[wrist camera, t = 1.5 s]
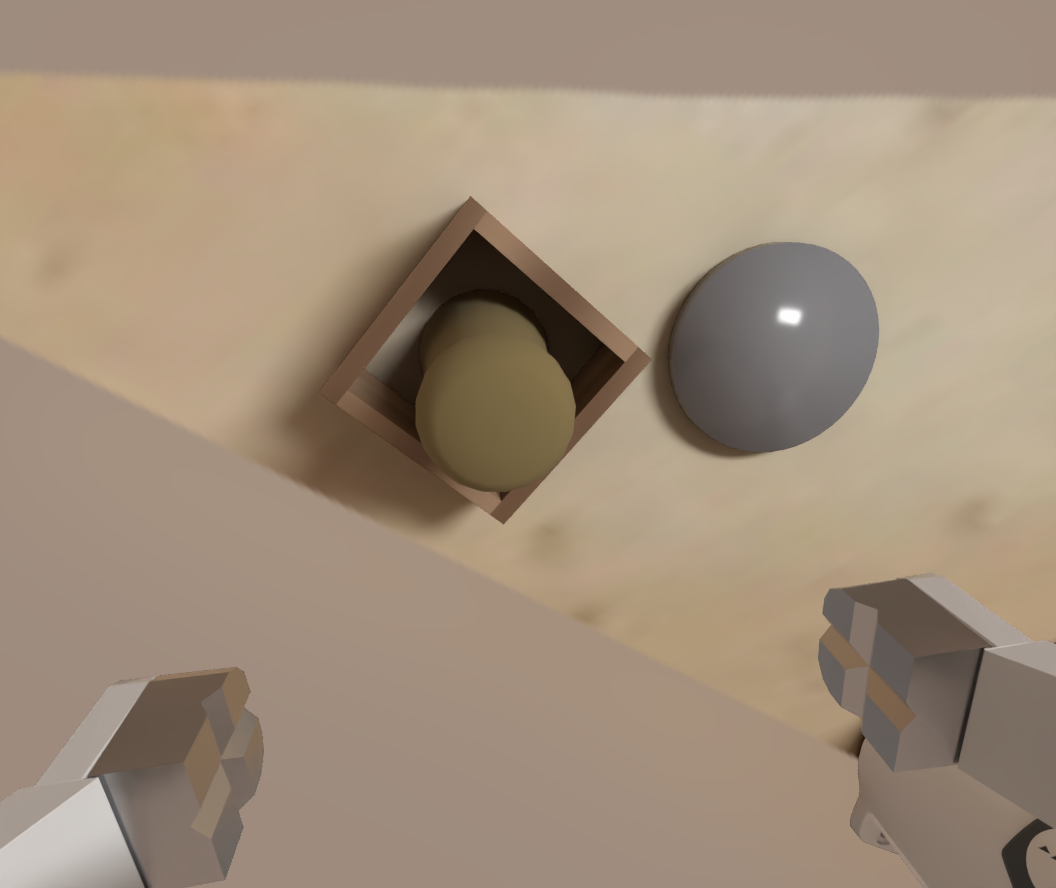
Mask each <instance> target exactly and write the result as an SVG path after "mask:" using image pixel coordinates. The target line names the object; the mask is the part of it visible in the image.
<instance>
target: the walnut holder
mask: <svg viewBox="0 0 1056 888" xmlns="http://www.w3.org/2000/svg"><path fill="white" fill-rule="evenodd" d="M473 229H474V230H475V231H476V232H477V233H478V234H480V235H481V236H482V237H483V238H484V239H485V240H486V241H488V242H489V243H490V244H491V245H492V246H493V247H494V248H495V249H497V250H498V251H499V252H500V253H501V254H502V255H503V256H505V257H506V258H507V259H508V260H509V261H510V262H511V263H513V264H514V265H515V266H516V267H517V268H518V269H519V270H520V271H522V272H523V273H524V274H525V275H526V276H527V277H528V278H530V279H531V280H532V281H533V282H534V283H535V284H536V285H537V286H539V287H540V288H541V289H542V290H543V291H544V292H545V293H547V294H548V295H549V296H550V297H551V298H552V299H553V300H555V301H556V302H557V303H558V304H559V305H560V306H561V307H562V308H564V309H565V310H566V311H567V312H568V313H569V314H570V315H572V316H573V317H574V318H575V319H576V320H577V321H578V322H579V323H581V324H582V325H583V326H584V327H585V328H586V329H587V330H589V331H590V332H591V333H592V334H593V335H594V336H595V337H597V338H598V339H599V340H600V341H601V342H602V343H603V345H602V347H601V348H600V349H599V350H598V351H597V352H596V353H595V355H594V356H593V357H592V358H591V359H590V360H589V362H588V363H587V364H586V365H585V366H584V367H583V368H582V370H581V371H580V372H579V373H578V374H577V375H576V376H575V378H574V379H573V380H572V381H571V382H570V383H571V388H572V392H573V396H574V401H575V405H576V410H575V420H574V430H573V435H572V437H571V440H570V442H569V444H568V446H567V449H566V451H565V453H564V456H563V457H562V458H561V459H560V460H559V461H558V463H559V462H560V461H561V460H562V459H563V458H564V457H565V456H566V455H567V453H568V452H569V451H570V450H571V449H572V448H573V447H574V446H575V445H576V443H577V442H578V441H579V440H580V439H581V438H582V437H583V436H584V434H585V433H586V432H587V431H588V430H589V429H590V428H591V427H592V426H593V424H594V423H595V422H596V421H597V420H598V419H599V418H600V417H601V416H602V414H603V413H604V412H605V411H606V410H607V409H608V408H609V407H610V406H611V404H612V403H613V402H614V401H615V400H616V399H617V398H618V397H619V396H620V394H621V393H622V392H623V391H624V390H625V389H626V388H627V387H628V386H629V384H630V383H631V382H632V381H633V380H634V379H635V378H636V377H637V376H638V374H639V373H640V372H641V371H642V370H643V369H644V368H645V367H646V366H647V364H648V363H649V362H650V361H651V360H652V359H651V358H650V357H649V356H648V355H646V354H645V353H644V352H643V351H642V350H641V349H640V348H639V347H638V346H636V345H635V344H634V343H633V342H632V341H631V340H630V339H629V338H628V337H626V336H625V335H624V334H623V333H622V332H621V331H620V330H619V329H618V328H616V327H615V326H614V325H613V324H612V323H611V322H610V321H609V320H608V319H606V318H605V317H604V316H603V315H602V314H601V313H600V312H599V311H598V310H596V309H595V308H594V307H593V306H592V305H591V304H590V303H589V302H588V301H586V300H585V299H584V298H583V297H582V296H581V295H580V294H579V293H578V292H576V291H575V290H574V289H573V288H572V287H571V286H570V285H569V284H568V283H566V282H565V281H564V280H563V279H562V278H561V277H560V276H559V275H558V274H556V273H555V272H554V271H553V270H552V269H551V268H550V267H549V266H548V265H546V264H545V263H544V262H543V261H542V260H541V259H540V258H539V257H538V256H536V255H535V254H534V253H533V252H532V251H531V250H530V249H529V248H528V247H526V246H525V245H524V244H523V243H522V242H521V241H520V240H519V239H518V238H516V237H515V236H514V235H513V234H512V233H511V232H510V231H509V230H508V229H506V228H505V227H504V226H503V225H502V224H501V223H500V222H499V221H498V220H496V219H495V218H494V217H493V216H492V215H491V214H490V213H489V212H488V211H486V210H485V209H484V208H483V207H482V206H481V205H480V204H479V203H478V202H476V201H475V200H474V199H473V198H472V197H471V196H470V198H469V199H468V200H467V201H466V203H465V204H464V205H463V207H462V208H461V209H460V210H459V212H458V213H457V214H456V216H455V217H454V218H453V220H452V221H451V222H450V223H449V225H448V226H447V227H446V229H445V230H444V231H443V233H442V234H441V235H440V236H439V238H438V239H437V240H436V242H435V243H434V244H433V245H432V247H431V248H430V249H429V251H428V252H427V253H426V255H425V256H424V257H423V258H422V260H421V261H420V262H419V264H418V265H417V266H416V267H415V269H414V270H413V271H412V273H411V274H410V275H409V277H408V278H407V279H406V280H405V282H404V283H403V284H402V286H401V287H400V288H399V290H398V291H397V292H396V293H395V295H394V296H393V297H392V299H391V300H390V301H389V302H388V304H387V305H386V306H385V308H384V309H383V310H382V312H381V313H380V314H379V315H378V317H377V318H376V319H375V321H374V322H373V323H372V324H371V326H370V327H369V328H368V330H367V331H366V332H365V334H364V335H363V336H362V337H361V339H360V340H359V341H358V343H357V344H356V345H355V347H354V348H353V349H352V350H351V352H350V353H349V354H348V356H347V357H346V358H345V359H344V361H343V362H342V363H341V365H340V366H339V367H338V369H337V370H336V371H335V372H334V374H333V375H332V376H331V378H330V379H329V380H328V382H327V383H326V384H325V385H324V387H323V388H322V389H321V391H320V392H319V393H320V394H321V395H323V396H324V397H325V398H327V399H328V400H330V401H331V402H332V403H334V404H335V405H337V406H338V407H339V408H341V409H342V410H344V411H345V412H346V413H348V414H349V415H351V416H352V417H354V418H355V419H356V420H358V421H359V422H361V423H362V424H363V425H365V426H366V427H368V428H369V429H370V430H372V431H373V432H375V433H376V434H377V435H379V436H380V437H382V438H383V439H384V440H386V441H387V442H389V443H390V444H391V445H393V446H394V447H396V448H397V449H398V450H400V451H401V452H403V453H404V454H405V455H407V456H408V457H410V458H411V459H412V460H414V461H415V462H417V463H418V464H420V465H421V466H422V467H424V468H425V469H427V470H428V471H429V472H431V473H432V474H434V475H435V476H436V477H438V478H439V479H441V480H442V481H443V482H445V483H446V484H448V485H449V486H450V487H452V488H453V489H455V490H456V491H457V492H459V493H460V494H462V495H463V496H464V497H466V498H467V499H469V500H470V501H471V502H473V503H474V504H476V505H477V506H479V507H480V508H481V509H483V510H484V511H486V512H487V513H488V514H490V515H491V516H493V517H494V518H495V519H497V520H498V521H500V522H501V523H502V524H504V523H505V522H506V521H507V520H508V519H509V518H510V517H511V516H512V515H513V513H514V512H515V511H516V510H517V509H518V508H519V507H520V506H521V505H522V503H523V502H524V501H525V500H526V499H527V498H528V497H529V496H530V495H531V493H532V492H533V491H534V490H535V489H536V488H537V487H538V486H539V485H540V483H541V482H542V481H543V480H544V479H545V478H546V477H547V476H548V475H549V473H550V472H551V471H552V470H553V469H554V468H555V467H556V466H557V465H558V463H557V464H556V465H555V466H554V467H553V468H552V469H551V471H550V472H549V473H548V474H546V475H545V476H543V477H542V478H540V479H538V480H537V481H535V482H533V483H532V484H530V485H529V486H526V487H522V488H518V489H515V490H511V491H507V492H481V491H478V490H475V489H472V488H469V487H466V486H463V485H460V484H458V483H457V482H455V481H454V480H452V479H451V478H449V477H448V476H447V475H445V474H444V473H442V472H441V471H440V470H439V469H438V467H437V466H436V465H435V463H434V462H433V461H432V460H431V458H430V457H429V456H428V454H427V453H426V451H425V450H424V448H423V446H422V443H421V440H420V437H419V434H418V431H417V428H416V407H415V406H413V405H412V404H410V403H409V402H408V401H406V400H405V399H404V398H402V397H401V396H400V395H398V394H397V393H396V392H394V391H393V390H392V389H390V388H389V387H388V386H386V385H385V384H384V383H382V382H381V381H380V380H378V379H377V378H376V377H374V376H373V375H372V374H370V373H369V372H368V371H366V370H365V369H364V368H365V367H366V366H367V364H368V363H369V362H370V361H371V359H372V358H373V357H374V356H375V354H376V353H377V352H378V350H379V349H380V348H381V347H382V345H383V344H384V343H385V341H386V340H387V339H388V338H389V336H390V335H391V334H392V333H393V331H394V330H395V329H396V327H397V326H398V325H399V324H400V322H401V321H402V320H403V318H404V317H405V316H406V315H407V313H408V312H409V311H410V310H411V308H412V307H413V306H414V304H415V303H416V302H417V301H418V299H419V298H420V297H421V295H422V294H423V293H424V292H425V290H426V289H427V288H428V287H429V285H430V284H431V283H432V281H433V280H434V279H435V278H436V276H437V275H438V274H439V272H440V271H441V270H442V269H443V267H444V266H445V265H446V264H447V262H448V261H449V260H450V258H451V257H452V256H453V255H454V253H455V252H456V251H457V250H458V248H459V247H460V246H461V244H462V243H463V242H464V241H465V239H466V238H467V237H468V235H469V234H470V233H471V232H472V230H473Z"/></svg>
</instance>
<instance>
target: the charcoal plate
mask: <svg viewBox="0 0 1056 888" xmlns="http://www.w3.org/2000/svg"><path fill="white" fill-rule="evenodd" d="M878 338H879V323H878V314H877V309H876V304H875V301H874V299H873V296H872V293H871V291H870V289H869V287H868V285H867V283H866V281H865V280H864V278H863V277H862V276H861V274H860V273H859V272H858V271H857V269H856V268H854V267H853V266H852V265H851V264H850V263H849V262H848V261H847V260H845V259H844V258H842V257H841V256H840V255H838V254H836V253H834V252H832V251H830V250H828V249H826V248H823V247H819V246H816V245H812V244H804V243H794V242H773V243H767V244H761V245H757V246H754V247H751V248H747V249H745V250H743V251H740V252H738V253H736V254H734V255H732V256H730V257H729V258H727V259H726V260H724V261H722V262H721V263H720V264H718V265H717V266H716V267H714V268H713V269H712V270H711V271H709V272H708V273H707V274H706V275H705V276H704V277H703V278H702V279H701V280H700V281H699V283H698V284H697V285H696V286H695V288H694V289H693V290H692V291H691V293H690V294H689V296H688V297H687V299H686V301H685V302H684V304H683V306H682V308H681V310H680V312H679V314H678V316H677V318H676V321H675V324H674V327H673V330H672V334H671V339H670V344H669V356H668V363H669V375H670V380H671V385H672V388H673V391H674V393H675V396H676V398H677V400H678V402H679V404H680V406H681V408H682V409H683V411H684V412H685V413H686V415H687V416H688V417H689V418H690V419H691V420H692V422H693V423H694V424H695V425H696V426H698V427H699V428H700V429H701V430H702V431H703V432H705V433H706V434H707V435H709V436H710V437H711V438H713V439H714V440H716V441H718V442H720V443H721V444H723V445H726V446H729V447H731V448H734V449H738V450H742V451H748V452H773V451H779V450H784V449H788V448H791V447H794V446H797V445H799V444H802V443H804V442H806V441H809V440H810V439H812V438H814V437H816V436H817V435H819V434H821V433H822V432H824V431H825V430H826V429H828V428H829V427H831V426H832V425H833V424H834V423H835V422H836V421H837V420H838V419H840V418H841V417H842V416H843V415H844V413H845V412H846V411H847V410H848V409H849V408H850V407H851V406H852V404H853V403H854V401H855V400H856V399H857V397H858V396H859V394H860V393H861V391H862V389H863V387H864V386H865V384H866V382H867V380H868V377H869V375H870V373H871V370H872V367H873V364H874V361H875V358H876V352H877V347H878Z"/></svg>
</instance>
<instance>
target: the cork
mask: <svg viewBox="0 0 1056 888" xmlns="http://www.w3.org/2000/svg"><path fill="white" fill-rule="evenodd" d="M420 365H421V368H422V371H423V374H424V378H423V381H422V384H421V387H420V389H419V392H418V395H417V398H416V428H417V431H418V434H419V437H420V440H421V443H422V446H423V448H424V450H425V451H426V453H427V454H428V456H429V457H430V458H431V460H432V461H433V462H434V463H435V465H436V466H437V467H438V469H439V470H440V471H441V472H442V473H444V474H445V475H447V476H448V477H449V478H451V479H452V480H454V481H455V482H457V483H458V484H460V485H463V486H466V487H469V488H472V489H475V490H478V491H481V492H507V491H511V490H515V489H518V488H522V487H526V486H529V485H530V484H532V483H533V482H535V481H537V480H538V479H540V478H542V477H543V476H545V475H546V474H548V473H549V472H550V471H551V469H552V468H553V467H554V466H555V465H556V464H557V463H558V461H559V460H560V459H561V458H562V457H563V456H564V453H565V451H566V449H567V446H568V444H569V442H570V440H571V437H572V435H573V430H574V420H575V410H576V405H575V401H574V396H573V392H572V388H571V383H570V382H569V380H568V378H567V377H566V375H565V374H564V372H563V370H562V369H561V367H560V366H559V364H558V362H557V361H556V360H555V358H553V357H552V356H551V355H550V354H549V348H548V344H547V339H546V335H545V331H544V328H543V327H542V325H541V323H540V322H539V320H538V318H537V317H536V315H535V314H534V312H533V311H532V310H531V309H530V308H528V307H527V306H526V305H525V304H524V303H522V302H521V301H520V300H519V299H518V298H515V297H513V296H510V295H508V294H505V293H503V292H500V291H495V290H478V289H477V290H473V291H470V292H466V293H462V294H458V295H456V296H454V297H453V298H451V299H450V300H448V301H447V302H445V303H444V304H442V305H441V306H439V308H438V309H437V310H436V312H435V313H434V314H433V315H432V317H431V318H430V319H429V321H428V322H427V324H426V327H425V329H424V332H423V335H422V338H421V341H420Z"/></svg>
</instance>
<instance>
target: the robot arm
mask: <svg viewBox="0 0 1056 888" xmlns="http://www.w3.org/2000/svg"><path fill="white" fill-rule="evenodd" d="M822 614H823V615H824V616H825V618H826V619H827V620H828V621H829V623H830V624H831V626H830V627H829V628H828V629H827V631H826V632H825V633H824V634H823V636H822V637H821V638H820V639H819V654H818V661H819V665H820V669H821V673H822V677H823V680H824V682H825V684H826V686H827V688H828V690H829V692H830V694H831V695H832V696H833V697H834V699H835V700H836V701H837V703H838V704H839V705H840V707H842V708H844V709H846V710H847V711H849V712H851V713H853V714H855V715H857V716H859V717H861V718H862V719H861V733H862V734H863V735H864V737H865V740H864V742H863V745H862V748H861V751H860V755H859V761H858V777H859V785H860V792H859V797H858V800H857V802H856V805H855V807H854V809H853V812H852V815H851V819H850V826H851V828H852V829H853V830H854V831H855V833H856V834H857V835H858V836H859V838H860V839H861V840H862V841H864V842H866V843H868V844H871V845H874V846H877V847H879V848H882V849H885V850H888V851H890V852H893V853H896V854H899V856H900V857H901V858H902V860H903V861H904V862H905V864H906V865H907V866H908V867H909V869H910V870H911V872H912V873H913V874H914V875H915V877H916V878H917V880H918V881H919V882H920V883H921V885H922V886H923V887H924V888H1056V644H1054V643H1051V642H1049V641H1046V640H1043V641H1036V642H1033V641H1032V640H1031V639H1029V638H1028V637H1027V636H1025V635H1024V634H1022V633H1021V632H1020V631H1018V630H1017V629H1015V628H1014V627H1013V626H1011V625H1010V624H1008V623H1007V622H1006V621H1004V620H1003V619H1002V618H1000V617H999V616H997V615H996V614H995V613H993V612H992V611H990V610H989V609H988V608H986V607H985V606H983V605H982V604H981V603H979V602H978V601H977V600H975V599H974V598H972V597H971V596H970V595H968V594H967V593H965V592H964V591H963V590H961V589H960V588H958V587H957V586H956V585H954V584H953V583H952V582H950V581H949V580H947V579H946V578H945V577H943V576H940V575H936V574H933V573H926V574H920V575H914V576H908V577H902V578H897V579H896V580H890V581H883V582H876V583H868V584H861V585H854V586H846V587H839V588H832V589H829V591H828V593H827V595H826V596H825V598H824V605H823V613H822ZM249 694H250V689H249V685H248V682H247V679H246V676H245V674H244V671H242V670H240V669H239V668H237V667H231V668H223V669H213V670H205V671H196V672H186V673H177V674H168V675H160V676H158V677H154V676H153V677H145V678H137V679H129V680H121V681H119V682H116V683H114V684H113V685H111V686H109V687H108V688H107V689H106V691H105V692H104V693H103V695H102V696H101V697H100V699H99V700H98V701H97V703H96V704H95V705H94V707H93V708H92V709H91V711H90V712H89V713H88V715H87V716H86V717H85V719H84V720H83V722H82V723H81V724H80V725H79V727H78V728H77V729H76V731H75V732H74V734H73V735H72V736H71V738H70V739H69V740H68V742H67V743H66V744H65V746H64V747H63V748H62V750H61V751H60V752H59V754H58V755H57V756H56V758H55V759H54V761H53V762H52V763H51V764H50V766H49V767H48V768H47V770H46V771H45V773H44V774H43V775H42V776H41V778H40V779H39V781H38V782H37V783H36V785H35V786H32V787H26V788H20V789H18V790H17V791H15V792H14V793H12V794H11V795H10V796H8V797H7V798H5V799H4V800H2V801H1V802H0V888H185V887H190V886H196V885H201V884H207V883H211V882H216V881H222V880H225V879H226V876H227V873H228V870H229V867H230V865H231V862H232V859H233V856H234V853H235V850H236V847H237V844H238V841H239V839H240V836H241V833H242V830H243V824H242V821H241V817H240V814H239V810H240V809H241V808H242V807H243V806H244V805H245V803H247V802H248V801H249V800H250V799H251V798H252V797H253V796H254V795H255V792H256V789H257V786H258V783H259V780H260V777H261V772H262V763H263V753H264V747H263V736H262V730H261V727H260V723H259V719H258V717H256V716H255V715H254V714H252V713H251V712H249V711H248V710H247V709H245V708H244V706H245V703H246V701H247V699H248V696H249Z"/></svg>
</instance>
